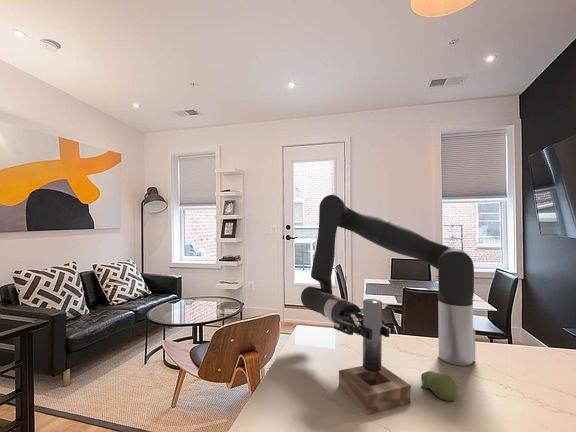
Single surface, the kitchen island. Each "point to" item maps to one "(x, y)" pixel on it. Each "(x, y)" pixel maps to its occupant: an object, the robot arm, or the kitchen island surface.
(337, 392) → the kitchen island surface
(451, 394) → the green rounded lump
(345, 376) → the socket block
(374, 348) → the pin
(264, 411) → the kitchen island surface
